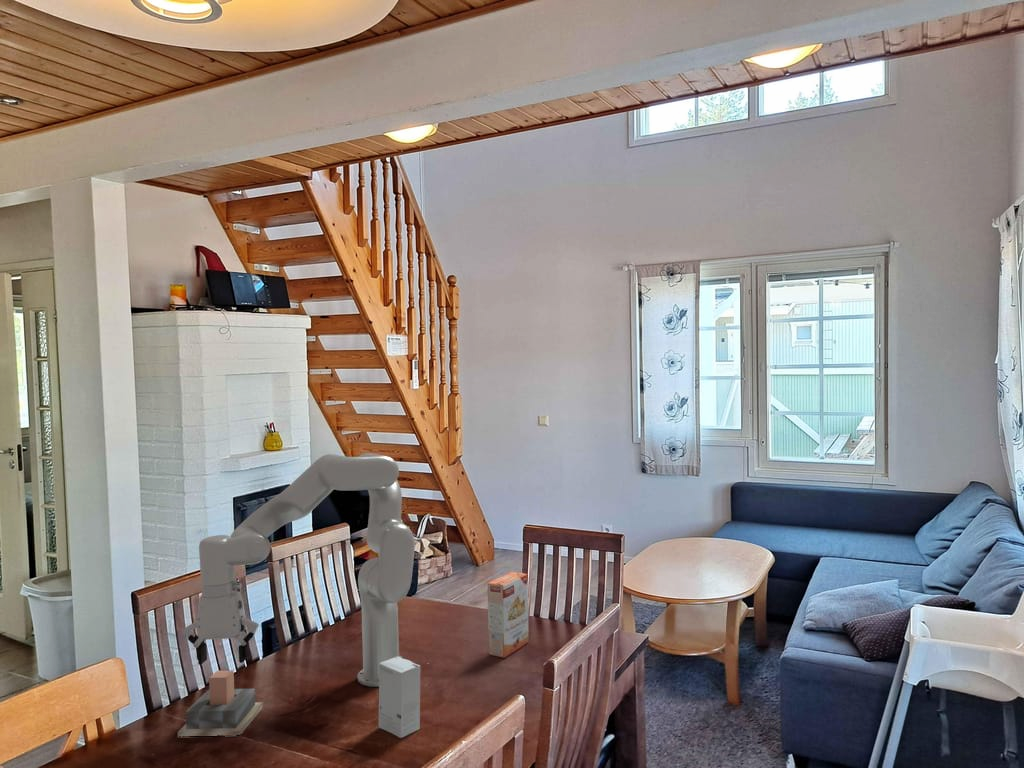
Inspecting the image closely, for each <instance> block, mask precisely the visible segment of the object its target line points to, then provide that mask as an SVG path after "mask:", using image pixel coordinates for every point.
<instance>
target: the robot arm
mask: <svg viewBox="0 0 1024 768" xmlns="http://www.w3.org/2000/svg"><path fill="white" fill-rule="evenodd" d="M399 474H400V469H399V465H398V464H397V461H396V460H394V459H393V458H392V457H390V456H387V455H383V454H379V453H373V452H365V453H362V454H360V455H358V456H343V455H337V454H331V453H329V454H327V453H326V454H324V455H322V456H320V457H319V458H317V459H316V460H315V461H314V462H313V463H312V464H311V465H310V466H308V467H307V468H306V469H305V471H303V472H302V473H301V474H300V475H299V476H298V477H297V478H296V479H295V480H293V482H291V484H290V485H288V486H287V487H286V488H285V489H283V490H282V491H281V492H280V493H278V494H277V495H275V496H274V497H273V498H271V499H269V500H267V502H266V503H264V504H262V505H261V506H260V507H258V508H257V509H256V510H254V511H253V512H252V513H251V514H249V516H247V518H246V519H244V520H243V521H242V522H241V523H240V524H239V525H238V526H237V527H236V528H235V529H233V531H232V533H231V535H225V534H224V535H223V534H219V535H212V536H207V537H205V538H203V539H202V540H200V542H199V544H198V545H199V546H198V554H199V556H198V557H199V570H200V572H199V573H200V574H199V575H200V585H201V586H200V589H201V595H200V596H199V598H198V604H197V612H196V614H197V615H196V621H194V622H193V623H191V624H189V625H187V626H186V627H185V628H183V632H184V634H185V636H186V637H187V640H188V641H189V642H190V643H191V644H192V645H193V647H194V648H195V651H196V652H195V653H196V660H197V664H198V665H203V663H205V662H206V661H207V660H208V648H207V647H208V646H207V643H206V640H219V639H220V640H224V639H225V640H229V639H235V640H236V641H237V642H238V644H239V646H238V661H239V663H240V664H241V663H244V662H245V661H246V660H247V659H248V657H249V655H250V653H249V651H250V650H249V641H251V639H252V638H253V637H254V636H255V635H256V632H257V630H258V628H259V625H260V624H259V623H258V622H255V621H253V620H251V619H249V618H247V617H246V612H245V606H244V601H243V597H242V594H241V592H240V591H238V590H241V589H242V587H243V585H242V583H239V582H238V580H237V579H236V566H248V565H249V566H251V565H256V564H260V563H261V562H263V561H264V560H266V558H267V557H268V556H269V555H270V552H271V543H270V540H269V539H268V538H269V537H270V536H271V535H272V534H273V533H274V532H276V531H277V530H279V529H280V528H281V527H283V526H285V525H286V524H289V523H291V522H295V521H297V520H300V519H304V517H306V516H309V514H310V513H311V512H312V511H313V510H314V509H315V508H316V507H317V506H319V504H320V503H322V502H323V500H325V498H327V497H328V496H329V495H330V494H331V493H332V492H333V491H334V490H336V491H345V492H346V491H365V490H366V491H367V492H368V495H369V511H368V512H369V513H368V522H367V523H368V524H367V530H366V531H367V532H366V544H367V547H368V548H369V549H370V550H371V551H372V552H374V553H375V554H378V555H379V556H378V557H372V558H371V559H368V560H366V561H365V562H364V563H363V564H362V565H361V567H360V569H359V572H358V576H357V585H358V592H359V597H360V604H361V605H360V606H361V634H362V635H361V637H362V638H361V639H362V641H361V642H362V669H361V670H360V671H359V672H358V674H357V682H358V683H360V684H361V685H363V686H367V687H374V688H375V687H376V688H377V687H378V688H379V666H380V664H379V663H381V662H384V661H387V660H389V659H392V658H395V657H400V658H403V656H402V655H400V646H399V645H400V644H399V643H400V641H399V640H400V639H399V638H400V637H399V611H398V610H399V609H398V603H399V602H401V601H403V599H405V597H406V596H407V595H408V593H409V591H410V588H411V584H412V578H413V568H414V560H415V549H416V545H415V543H416V542H415V537H414V533H413V531H412V530H411V529H410V527H409V526H407V525H406V524H405V523H402V502H403V497H402V496H403V495H402V490H401V485H400V483H399V480H398V478H399ZM247 628H249V631H248V633H247V632H246V629H247ZM195 629H196V632H197V634H196V632H195V631H194V630H195ZM410 661H411V662H413V661H412V660H410Z"/></svg>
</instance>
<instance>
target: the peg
mask: <svg viewBox="0 0 1024 768" xmlns="http://www.w3.org/2000/svg"><path fill="white" fill-rule="evenodd" d="M234 672H235V671H234V670H216V671H214V673H213V674H212V675H210V676H209V678H208V680H209V681H208V683H209V686H208V687H209V689H210V705H228V704H229V703H230V702H231V701H232V700H233V699H234V689H235V677H234V676H235V675H234V674H235V673H234ZM209 689H208V690H209Z"/></svg>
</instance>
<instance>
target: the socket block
mask: <svg viewBox="0 0 1024 768" xmlns="http://www.w3.org/2000/svg"><path fill="white" fill-rule="evenodd" d="M263 706H264V705H263V702H261V701H259V702H256V688H234V699H233V700H232V701H231V702H230V703H229V704H228V705H210V689H207V690H206V691H205V693H203V694H202V695H201V696H200V697H199V698H198V699H197V700H196V701H195V702H194V703H193V704H192V705H191V706H190V707H188V708H187V710H186V711H185V724H184V725H183V726H182V727H181V728H180V729H179V730H178V731H177V738H183V737H182V736H217V735H240V734H241V735H242V734H243V733H244V731H245V730H246V729H247V728H248V726H250V724H251V722H252V721H253V720H254V719H255V718H256V716H258V714H259V713H260V712H261V710H262V709H263V708H264V707H263ZM241 735H240V736H241ZM179 736H181V737H179Z"/></svg>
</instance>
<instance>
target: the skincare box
mask: <svg viewBox="0 0 1024 768" xmlns="http://www.w3.org/2000/svg"><path fill="white" fill-rule="evenodd" d="M411 661H412V660H409V659H405V658H404V657H402V658H400V657H395V658H392V659H389V660H387V661H384V662H381V663H379V664H380V666H379V687H378V728H379V729H381V730H384V731H386V732H388V733H391V734H392V735H394V736H396V737H397V738H399V739H403V738H404V737H406V736H409V735H411V734H412V733H414V732H417V731H418V730H420V726H421V725H420V721H421V720H420V719H421V665H420V664H417V663H414V662H413V661H412V662H411Z"/></svg>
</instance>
